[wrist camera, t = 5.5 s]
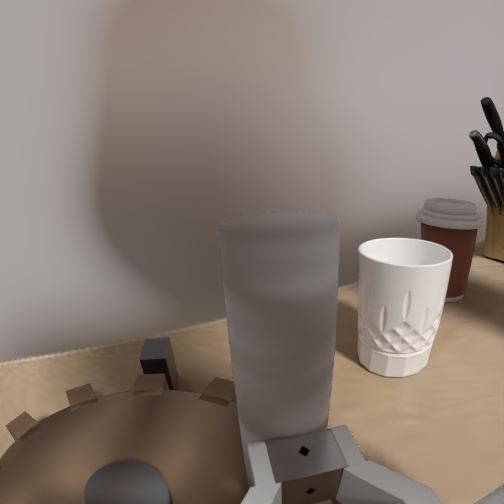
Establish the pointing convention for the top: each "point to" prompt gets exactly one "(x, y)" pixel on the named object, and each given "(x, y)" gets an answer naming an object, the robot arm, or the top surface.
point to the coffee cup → (452, 237)
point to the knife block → (491, 180)
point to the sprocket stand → (159, 360)
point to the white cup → (400, 303)
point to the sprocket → (215, 395)
